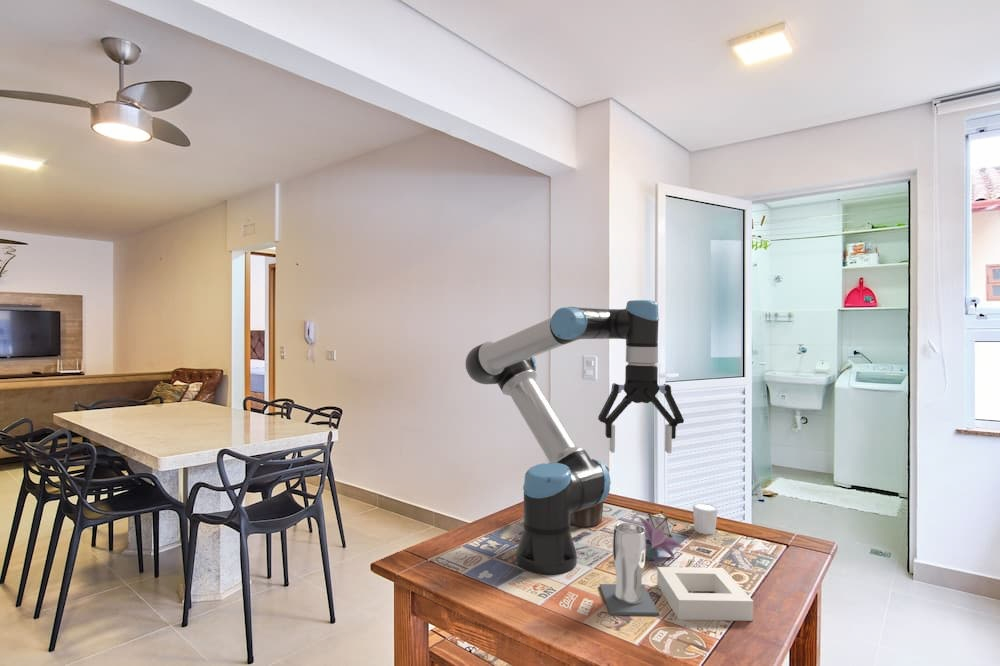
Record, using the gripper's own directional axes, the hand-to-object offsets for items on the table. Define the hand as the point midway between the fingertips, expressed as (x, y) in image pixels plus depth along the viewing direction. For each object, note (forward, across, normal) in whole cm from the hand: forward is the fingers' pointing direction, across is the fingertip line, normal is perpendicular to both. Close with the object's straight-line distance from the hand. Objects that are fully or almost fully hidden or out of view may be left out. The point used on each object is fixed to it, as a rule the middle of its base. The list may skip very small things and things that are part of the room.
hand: (640, 451), depth 131 cm
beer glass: (+28, +6, +15) cm, 33 cm away
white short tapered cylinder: (+29, -26, -26) cm, 47 cm away
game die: (+29, -10, -17) cm, 35 cm away
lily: (+29, -7, -7) cm, 31 cm away
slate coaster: (+29, +6, +15) cm, 33 cm away
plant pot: (+29, +9, -33) cm, 45 cm away
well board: (+29, -10, +15) cm, 34 cm away
